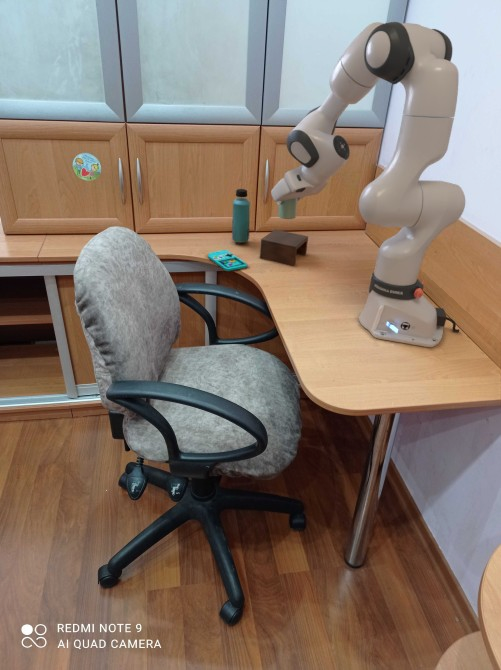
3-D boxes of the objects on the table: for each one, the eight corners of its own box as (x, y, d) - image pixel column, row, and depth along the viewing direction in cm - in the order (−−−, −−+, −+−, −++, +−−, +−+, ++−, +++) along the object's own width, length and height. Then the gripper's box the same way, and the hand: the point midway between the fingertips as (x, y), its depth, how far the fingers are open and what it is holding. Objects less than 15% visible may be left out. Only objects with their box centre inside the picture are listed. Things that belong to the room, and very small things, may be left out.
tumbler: (298, 215, 164) (301, 189, 159) (291, 220, 159) (294, 193, 154) (281, 212, 166) (284, 186, 161) (274, 217, 161) (276, 190, 156)
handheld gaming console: (226, 248, 171) (248, 264, 160) (226, 251, 171) (248, 267, 161) (205, 253, 167) (226, 268, 156) (205, 255, 167) (226, 271, 157)
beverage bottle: (248, 246, 177) (251, 192, 166) (231, 245, 176) (232, 191, 166) (249, 240, 182) (251, 187, 171) (231, 239, 182) (233, 186, 171)
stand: (306, 254, 173) (308, 236, 169) (293, 266, 163) (295, 246, 160) (273, 247, 177) (274, 229, 173) (259, 258, 168) (261, 239, 164)
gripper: (329, 165, 155) (304, 189, 166) (282, 172, 143) (259, 197, 155) (337, 182, 154) (312, 205, 165) (291, 190, 143) (267, 214, 154)
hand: (286, 201), depth 160 cm, fingers closed on tumbler, 6 cm apart
